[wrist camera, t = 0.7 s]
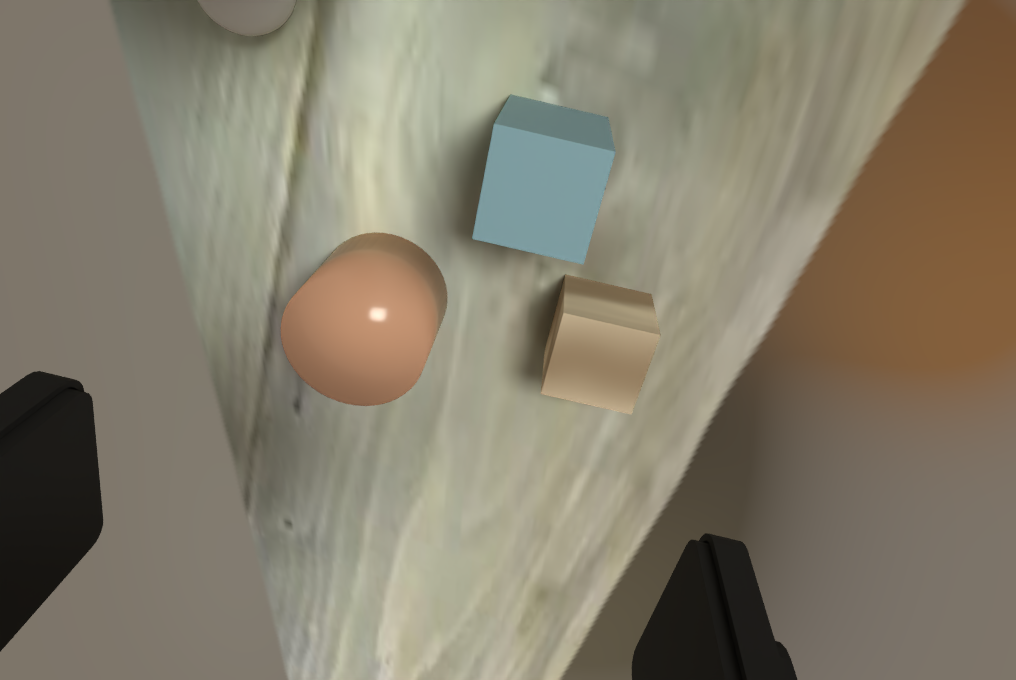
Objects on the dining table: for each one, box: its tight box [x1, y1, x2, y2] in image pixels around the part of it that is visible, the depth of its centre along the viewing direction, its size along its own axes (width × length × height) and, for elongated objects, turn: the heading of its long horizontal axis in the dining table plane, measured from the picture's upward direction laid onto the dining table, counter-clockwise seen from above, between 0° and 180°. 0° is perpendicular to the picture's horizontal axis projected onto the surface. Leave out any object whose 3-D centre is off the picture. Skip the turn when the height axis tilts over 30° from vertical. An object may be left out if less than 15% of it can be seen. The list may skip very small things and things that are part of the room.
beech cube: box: [541, 274, 661, 414], centre depth 29 cm, size 4×4×4 cm
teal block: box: [472, 95, 615, 264], centre depth 25 cm, size 4×4×6 cm
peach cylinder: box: [281, 233, 447, 406], centre depth 29 cm, size 6×6×5 cm
